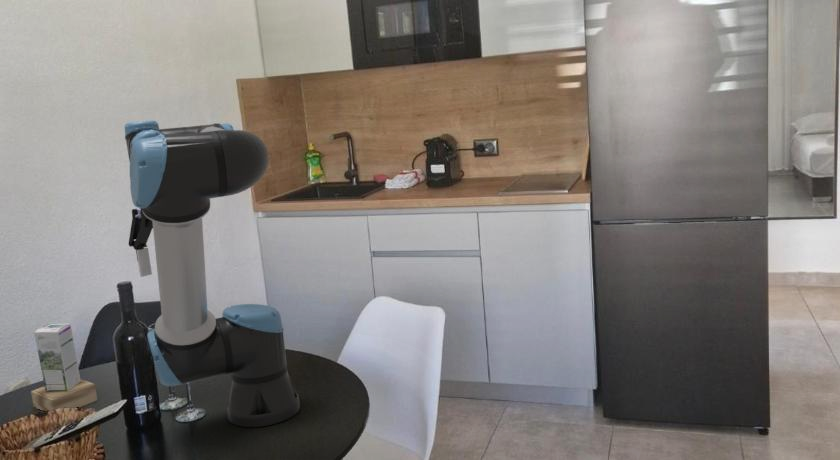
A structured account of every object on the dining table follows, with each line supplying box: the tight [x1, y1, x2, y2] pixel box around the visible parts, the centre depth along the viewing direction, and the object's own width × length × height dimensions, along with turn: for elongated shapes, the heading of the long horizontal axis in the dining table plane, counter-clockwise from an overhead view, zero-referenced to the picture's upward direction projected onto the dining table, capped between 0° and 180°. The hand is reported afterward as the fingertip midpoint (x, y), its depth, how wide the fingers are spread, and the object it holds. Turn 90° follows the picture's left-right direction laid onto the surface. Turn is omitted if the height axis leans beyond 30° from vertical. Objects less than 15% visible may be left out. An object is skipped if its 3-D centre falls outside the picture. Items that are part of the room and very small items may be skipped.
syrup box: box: [34, 323, 81, 391], centre depth 175 cm, size 6×6×14 cm
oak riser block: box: [30, 378, 98, 411], centre depth 177 cm, size 10×10×4 cm
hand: (163, 277), depth 182 cm, fingers open, 13 cm apart
